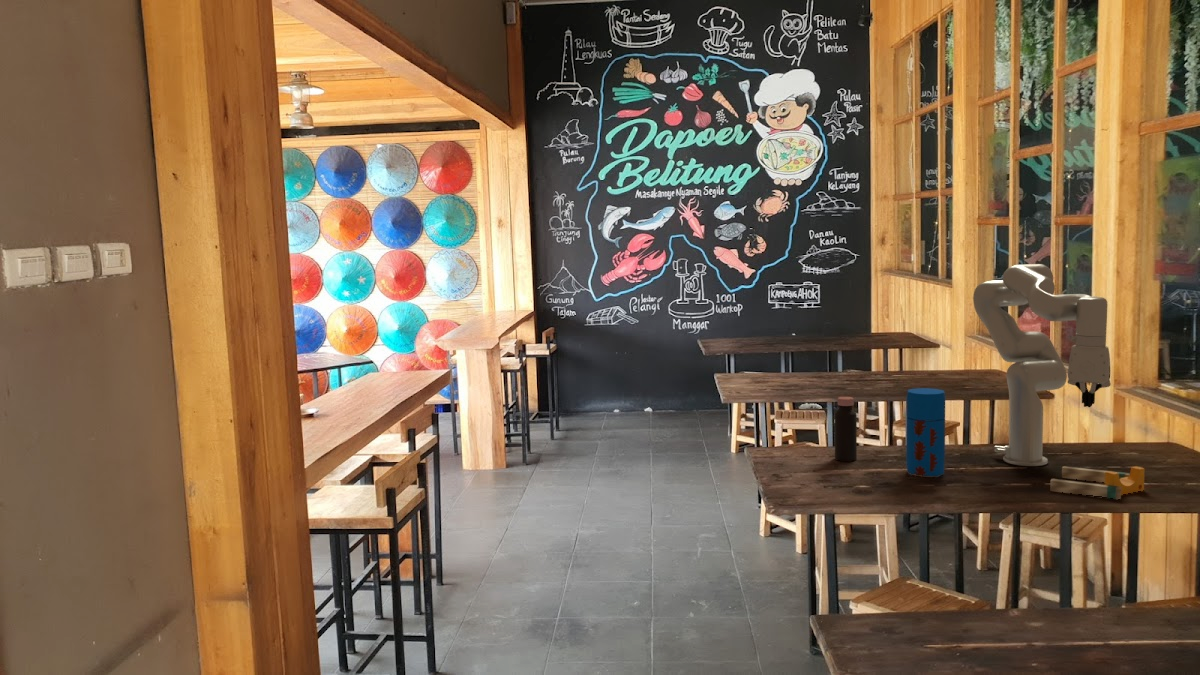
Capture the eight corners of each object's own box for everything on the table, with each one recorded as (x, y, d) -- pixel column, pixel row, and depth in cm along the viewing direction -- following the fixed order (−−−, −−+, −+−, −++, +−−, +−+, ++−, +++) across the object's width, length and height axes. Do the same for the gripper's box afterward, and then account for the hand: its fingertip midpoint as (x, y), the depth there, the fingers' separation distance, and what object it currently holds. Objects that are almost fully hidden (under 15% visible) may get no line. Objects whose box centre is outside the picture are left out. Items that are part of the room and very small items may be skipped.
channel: (1050, 491, 261) (1050, 480, 260) (1063, 476, 275) (1063, 465, 275) (1119, 499, 251) (1120, 488, 250) (1129, 483, 265) (1129, 473, 265)
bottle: (839, 455, 308) (839, 395, 306) (859, 458, 304) (859, 397, 302) (831, 460, 303) (831, 398, 300) (852, 462, 299) (851, 400, 296)
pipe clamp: (1129, 487, 262) (1130, 465, 261) (1143, 491, 258) (1144, 468, 257) (1098, 493, 257) (1099, 470, 257) (1113, 497, 253) (1113, 474, 253)
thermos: (917, 466, 291) (917, 387, 288) (950, 472, 283) (951, 390, 281) (900, 474, 283) (900, 392, 281) (934, 479, 276) (934, 395, 273)
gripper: (1058, 341, 263) (1055, 405, 266) (1118, 344, 254) (1115, 411, 257) (1064, 338, 269) (1062, 401, 272) (1123, 341, 260) (1120, 406, 262)
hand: (1087, 406), depth 264 cm, fingers closed
